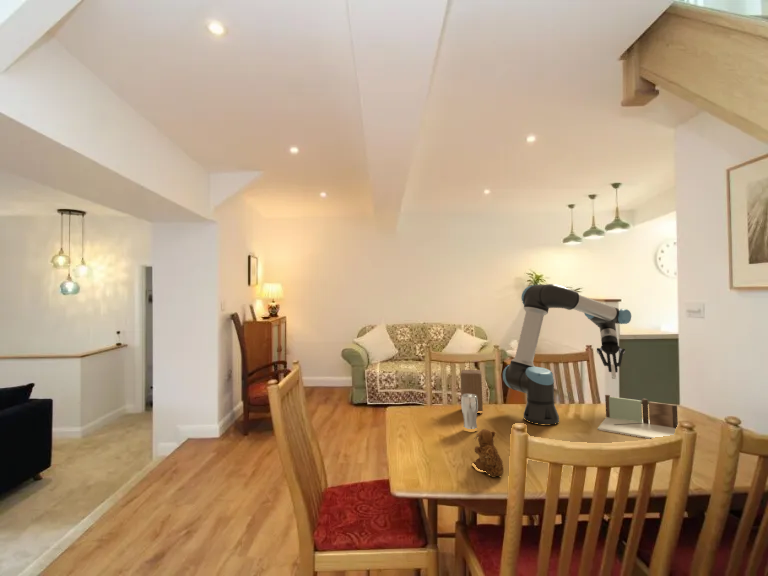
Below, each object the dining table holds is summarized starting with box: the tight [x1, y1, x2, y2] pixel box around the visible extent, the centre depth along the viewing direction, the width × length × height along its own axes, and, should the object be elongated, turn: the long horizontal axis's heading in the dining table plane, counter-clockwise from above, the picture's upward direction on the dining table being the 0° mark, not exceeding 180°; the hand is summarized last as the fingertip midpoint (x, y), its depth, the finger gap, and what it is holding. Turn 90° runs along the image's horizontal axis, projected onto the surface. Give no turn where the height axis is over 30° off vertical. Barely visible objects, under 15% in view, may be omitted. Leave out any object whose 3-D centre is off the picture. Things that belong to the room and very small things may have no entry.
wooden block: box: [460, 369, 484, 411], centre depth 195 cm, size 10×10×20 cm
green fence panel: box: [604, 394, 643, 422], centre depth 174 cm, size 14×2×10 cm, turn 50°
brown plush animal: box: [472, 429, 504, 477], centre depth 129 cm, size 10×14×13 cm
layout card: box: [597, 416, 676, 440], centre depth 165 cm, size 27×24×1 cm
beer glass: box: [460, 394, 478, 429], centre depth 169 cm, size 7×7×15 cm
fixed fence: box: [641, 398, 679, 428], centre depth 165 cm, size 12×2×11 cm, turn 50°
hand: (613, 377), depth 191 cm, fingers closed
